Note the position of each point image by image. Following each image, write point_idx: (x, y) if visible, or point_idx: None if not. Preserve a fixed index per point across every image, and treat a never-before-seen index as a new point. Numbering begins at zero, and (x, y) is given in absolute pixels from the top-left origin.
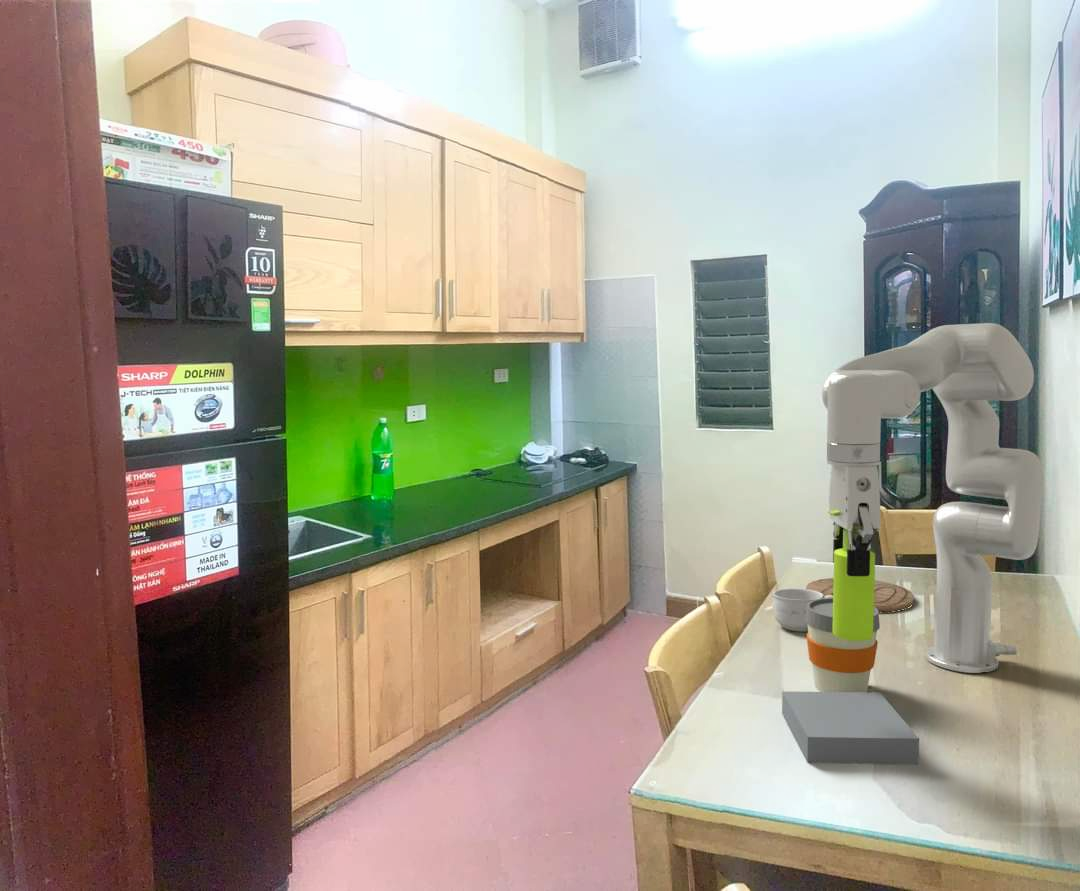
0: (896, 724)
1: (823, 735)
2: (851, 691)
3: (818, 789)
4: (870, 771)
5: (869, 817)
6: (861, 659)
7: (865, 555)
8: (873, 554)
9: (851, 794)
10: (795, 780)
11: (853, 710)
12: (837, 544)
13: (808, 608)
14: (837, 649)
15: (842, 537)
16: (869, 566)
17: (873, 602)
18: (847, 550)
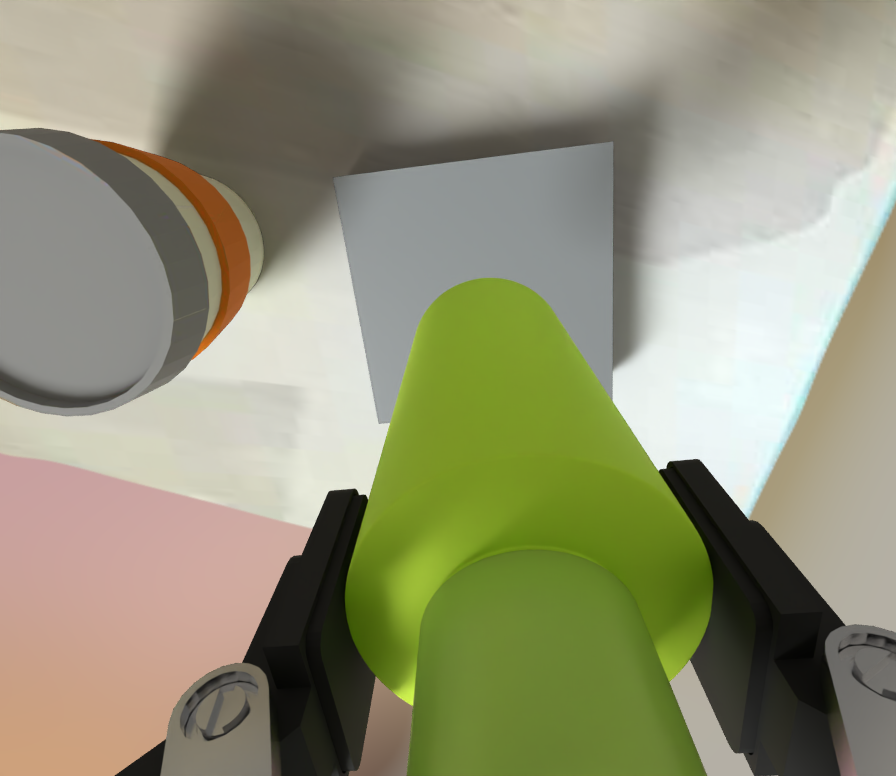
0: (535, 181)
1: (604, 369)
2: (255, 230)
3: (698, 375)
4: (629, 262)
5: (799, 303)
6: (220, 215)
7: (836, 620)
8: (615, 483)
9: (718, 319)
10: (665, 410)
11: (463, 276)
12: (360, 731)
13: (88, 414)
14: (226, 298)
15: (323, 769)
16: (730, 498)
17: (545, 326)
18: (764, 768)
